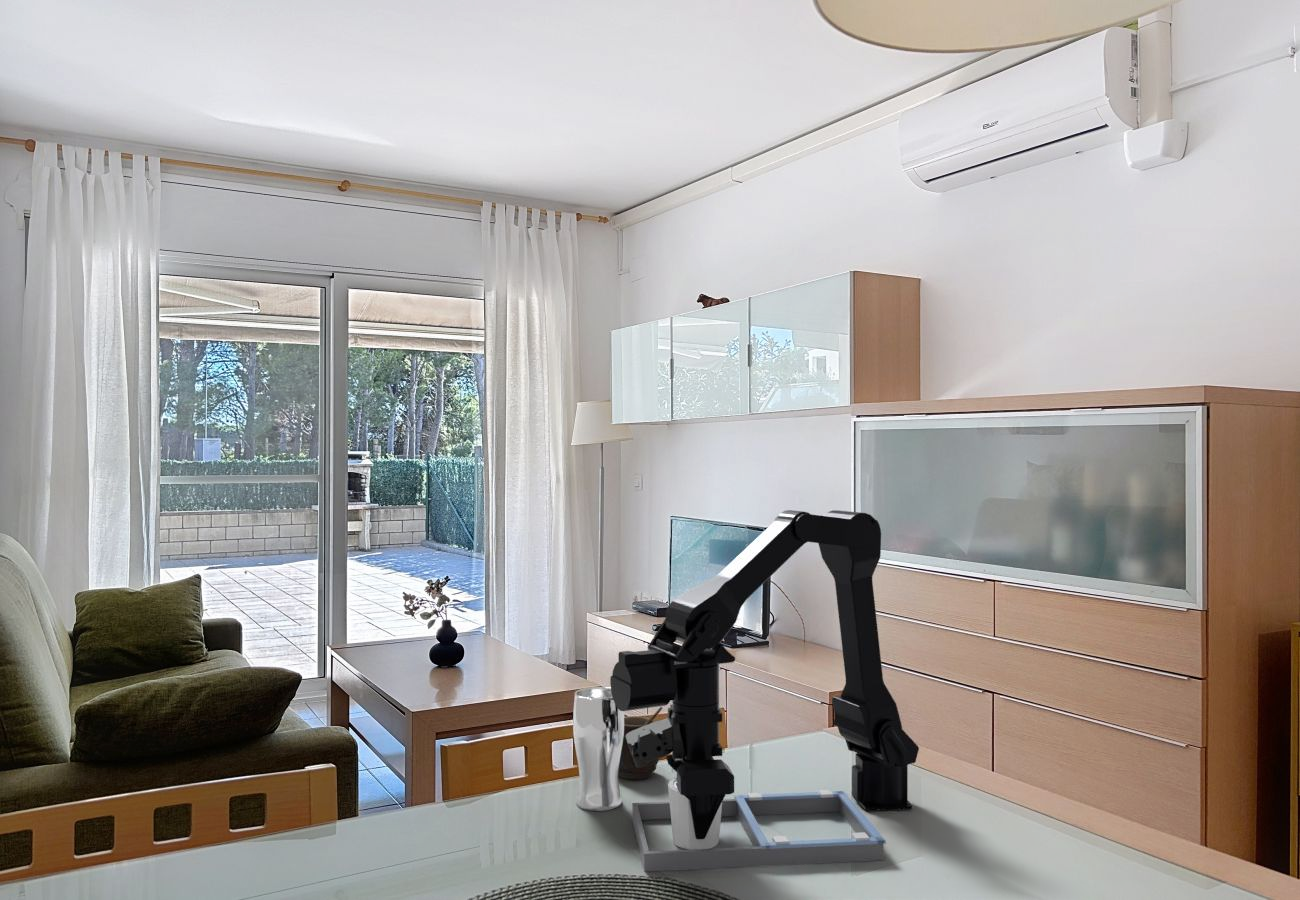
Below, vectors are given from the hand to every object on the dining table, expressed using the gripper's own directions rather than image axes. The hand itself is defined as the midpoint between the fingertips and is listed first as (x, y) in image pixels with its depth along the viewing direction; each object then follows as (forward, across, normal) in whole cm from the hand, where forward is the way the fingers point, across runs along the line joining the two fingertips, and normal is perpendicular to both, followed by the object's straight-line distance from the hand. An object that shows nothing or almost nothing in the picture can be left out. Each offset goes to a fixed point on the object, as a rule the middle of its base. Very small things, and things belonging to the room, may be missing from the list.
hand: (696, 828), depth 120 cm
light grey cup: (+2, 0, 0) cm, 2 cm away
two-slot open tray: (+2, 0, +7) cm, 7 cm away
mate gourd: (+2, -25, -5) cm, 26 cm away
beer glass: (+2, -14, -11) cm, 18 cm away
